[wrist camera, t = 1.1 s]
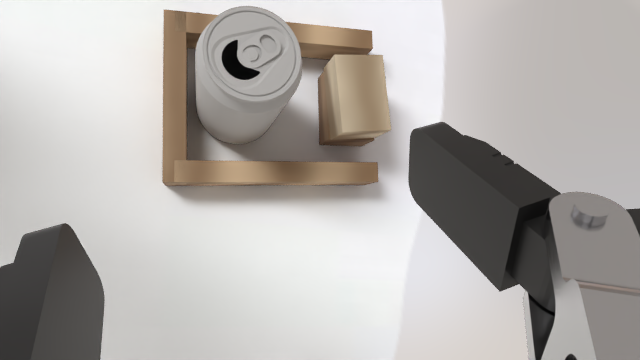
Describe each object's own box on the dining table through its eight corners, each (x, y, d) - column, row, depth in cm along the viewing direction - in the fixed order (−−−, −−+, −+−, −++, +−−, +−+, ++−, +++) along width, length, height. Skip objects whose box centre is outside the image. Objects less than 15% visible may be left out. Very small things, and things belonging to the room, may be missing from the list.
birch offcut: (330, 139, 35) (342, 132, 32) (323, 68, 35) (334, 54, 32) (375, 137, 36) (391, 129, 33) (367, 68, 36) (382, 55, 33)
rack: (165, 185, 33) (162, 182, 30) (166, 27, 35) (163, 9, 32) (364, 184, 38) (378, 181, 35) (359, 45, 39) (371, 30, 36)
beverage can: (179, 96, 34) (170, 31, 23) (245, 57, 36) (265, -20, 25) (226, 160, 35) (239, 129, 23) (288, 119, 37) (328, 71, 25)
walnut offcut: (318, 145, 37) (328, 138, 35) (317, 79, 38) (326, 67, 35) (361, 146, 39) (374, 140, 36) (358, 82, 39) (371, 71, 36)
